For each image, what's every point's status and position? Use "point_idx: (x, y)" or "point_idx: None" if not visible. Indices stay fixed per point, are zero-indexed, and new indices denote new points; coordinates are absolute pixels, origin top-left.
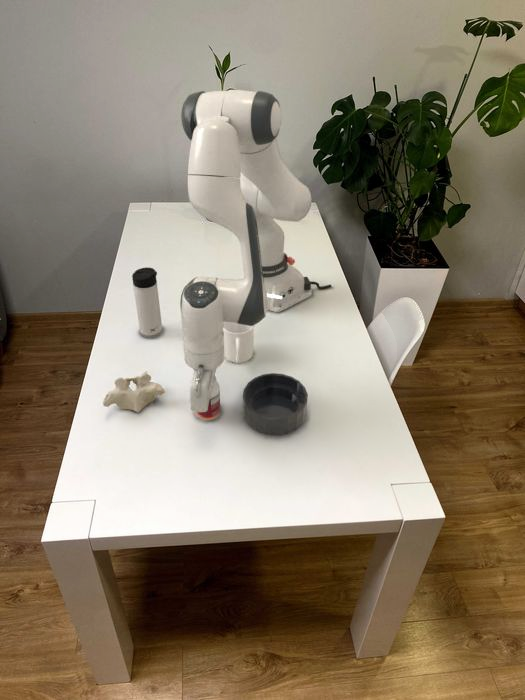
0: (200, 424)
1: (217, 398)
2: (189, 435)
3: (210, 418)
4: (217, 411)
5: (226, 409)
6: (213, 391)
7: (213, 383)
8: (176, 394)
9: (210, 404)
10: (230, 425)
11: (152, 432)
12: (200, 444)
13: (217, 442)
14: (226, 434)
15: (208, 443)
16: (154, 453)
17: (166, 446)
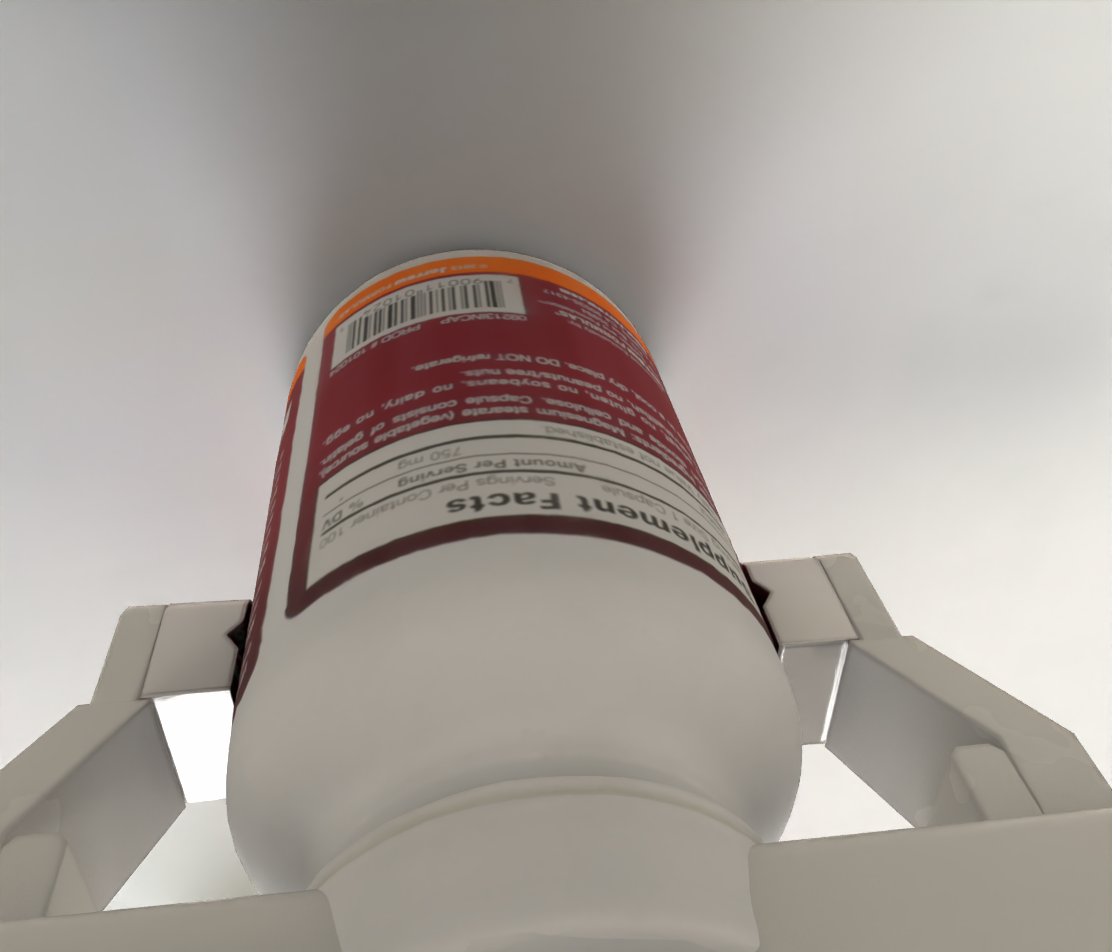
0: (706, 444)
1: (637, 488)
2: (878, 517)
3: (655, 366)
4: (586, 316)
5: (370, 152)
6: (706, 714)
7: (726, 941)
8: None
9: (730, 542)
10: (723, 26)
11: (810, 798)
12: (1036, 378)
13: (1044, 175)
14: (910, 64)
15: (1039, 289)
16: (1065, 725)
17: (1000, 666)
